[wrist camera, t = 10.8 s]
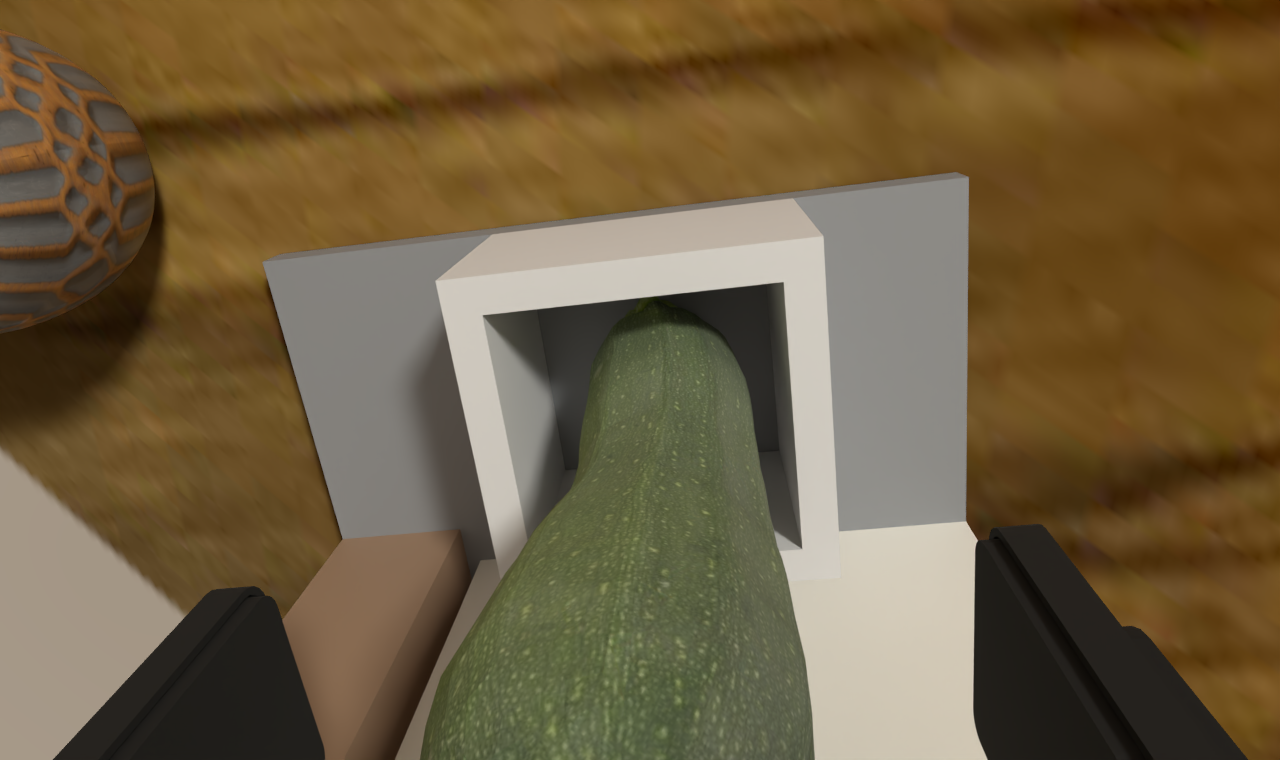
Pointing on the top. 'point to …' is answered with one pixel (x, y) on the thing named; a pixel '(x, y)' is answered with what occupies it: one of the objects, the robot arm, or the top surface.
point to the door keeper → (552, 422)
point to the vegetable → (642, 582)
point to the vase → (64, 185)
